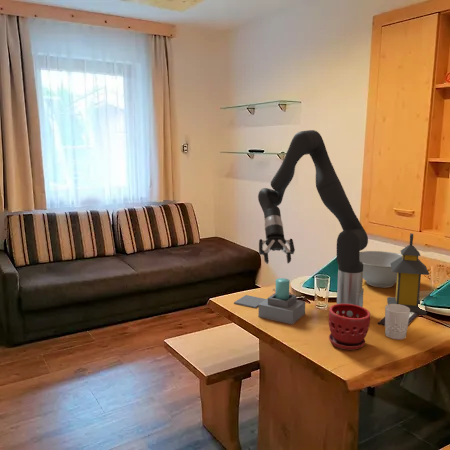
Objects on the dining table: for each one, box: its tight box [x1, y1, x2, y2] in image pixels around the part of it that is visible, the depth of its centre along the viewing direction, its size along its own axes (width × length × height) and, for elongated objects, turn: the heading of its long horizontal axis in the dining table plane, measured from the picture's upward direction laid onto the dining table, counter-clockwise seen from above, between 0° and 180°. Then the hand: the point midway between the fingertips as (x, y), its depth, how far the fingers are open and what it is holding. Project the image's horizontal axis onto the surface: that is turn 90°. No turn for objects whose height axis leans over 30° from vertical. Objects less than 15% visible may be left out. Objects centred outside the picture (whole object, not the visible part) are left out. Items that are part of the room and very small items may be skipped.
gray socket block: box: [258, 293, 306, 325], centre depth 173 cm, size 14×12×8 cm
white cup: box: [384, 303, 410, 340], centre depth 155 cm, size 8×8×10 cm
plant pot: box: [328, 303, 371, 351], centre depth 148 cm, size 13×13×12 cm
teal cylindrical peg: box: [275, 277, 290, 301], centre depth 172 cm, size 5×5×9 cm
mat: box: [233, 294, 267, 309], centre depth 188 cm, size 10×10×1 cm
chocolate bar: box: [377, 312, 419, 327], centre depth 169 cm, size 9×1×18 cm
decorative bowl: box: [360, 250, 402, 289], centre depth 209 cm, size 27×27×12 cm
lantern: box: [386, 233, 430, 316], centre depth 179 cm, size 14×14×30 cm
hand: (278, 262), depth 180 cm, fingers open, 8 cm apart
